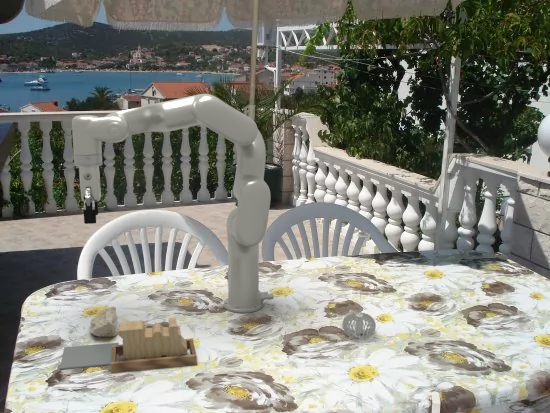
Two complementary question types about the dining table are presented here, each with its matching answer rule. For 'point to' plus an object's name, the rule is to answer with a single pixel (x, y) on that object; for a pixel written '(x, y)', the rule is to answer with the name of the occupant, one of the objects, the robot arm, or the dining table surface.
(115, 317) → the stone
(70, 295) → the dining table surface
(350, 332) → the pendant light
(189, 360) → the pocket frame
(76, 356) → the slate mat
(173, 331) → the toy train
